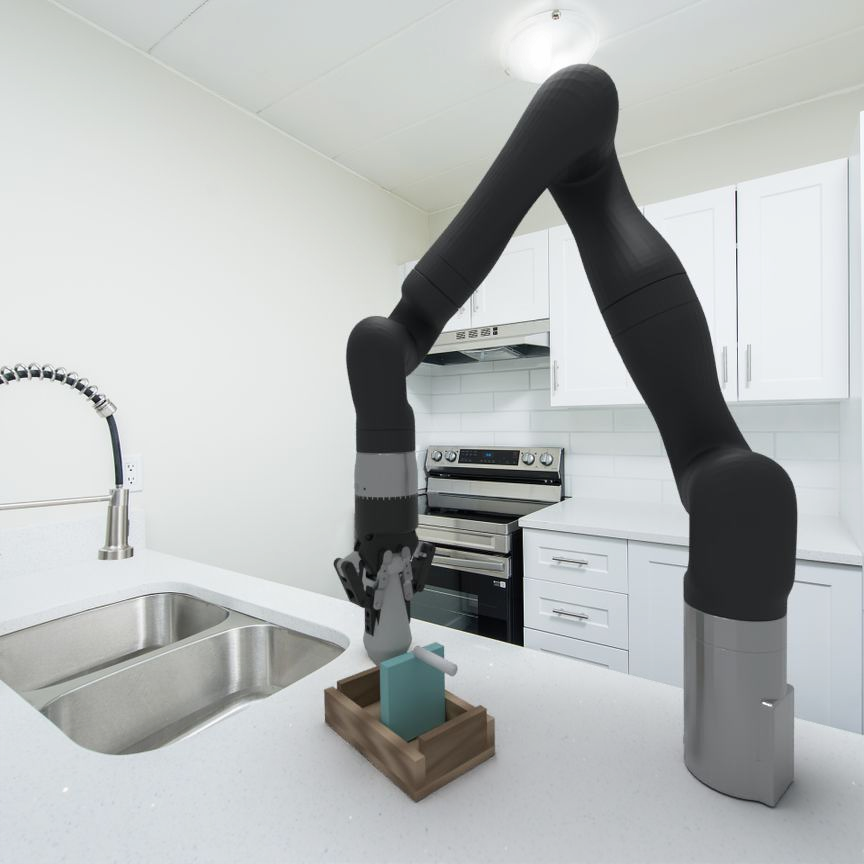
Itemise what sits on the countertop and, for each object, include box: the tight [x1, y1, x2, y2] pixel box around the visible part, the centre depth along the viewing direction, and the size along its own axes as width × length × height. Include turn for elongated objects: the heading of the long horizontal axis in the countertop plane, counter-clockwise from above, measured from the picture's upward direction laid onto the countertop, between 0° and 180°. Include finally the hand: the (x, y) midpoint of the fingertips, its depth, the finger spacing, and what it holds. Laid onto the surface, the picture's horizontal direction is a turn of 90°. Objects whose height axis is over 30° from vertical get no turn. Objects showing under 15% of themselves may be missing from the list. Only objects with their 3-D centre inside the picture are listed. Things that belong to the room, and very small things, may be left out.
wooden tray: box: [323, 665, 496, 803], centre depth 61 cm, size 18×11×6 cm, turn 40°
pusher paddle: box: [380, 642, 459, 742], centre depth 58 cm, size 8×8×10 cm
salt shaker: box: [362, 553, 413, 667], centre depth 63 cm, size 6×6×13 cm
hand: (388, 633), depth 63 cm, fingers closed on salt shaker, 3 cm apart
